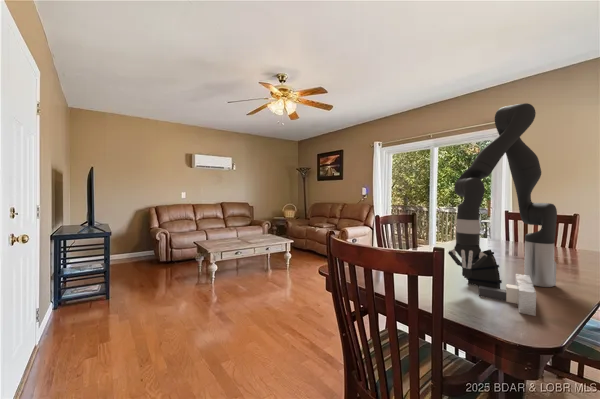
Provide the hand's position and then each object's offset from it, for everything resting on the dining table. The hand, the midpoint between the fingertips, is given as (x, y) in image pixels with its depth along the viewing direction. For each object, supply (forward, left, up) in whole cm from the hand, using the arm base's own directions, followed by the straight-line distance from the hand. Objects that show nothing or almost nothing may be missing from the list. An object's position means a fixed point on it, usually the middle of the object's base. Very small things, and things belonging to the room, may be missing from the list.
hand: (466, 277), depth 103 cm
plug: (-8, +6, -6) cm, 12 cm away
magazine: (-11, -8, -6) cm, 15 cm away
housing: (-13, +10, -6) cm, 18 cm away
